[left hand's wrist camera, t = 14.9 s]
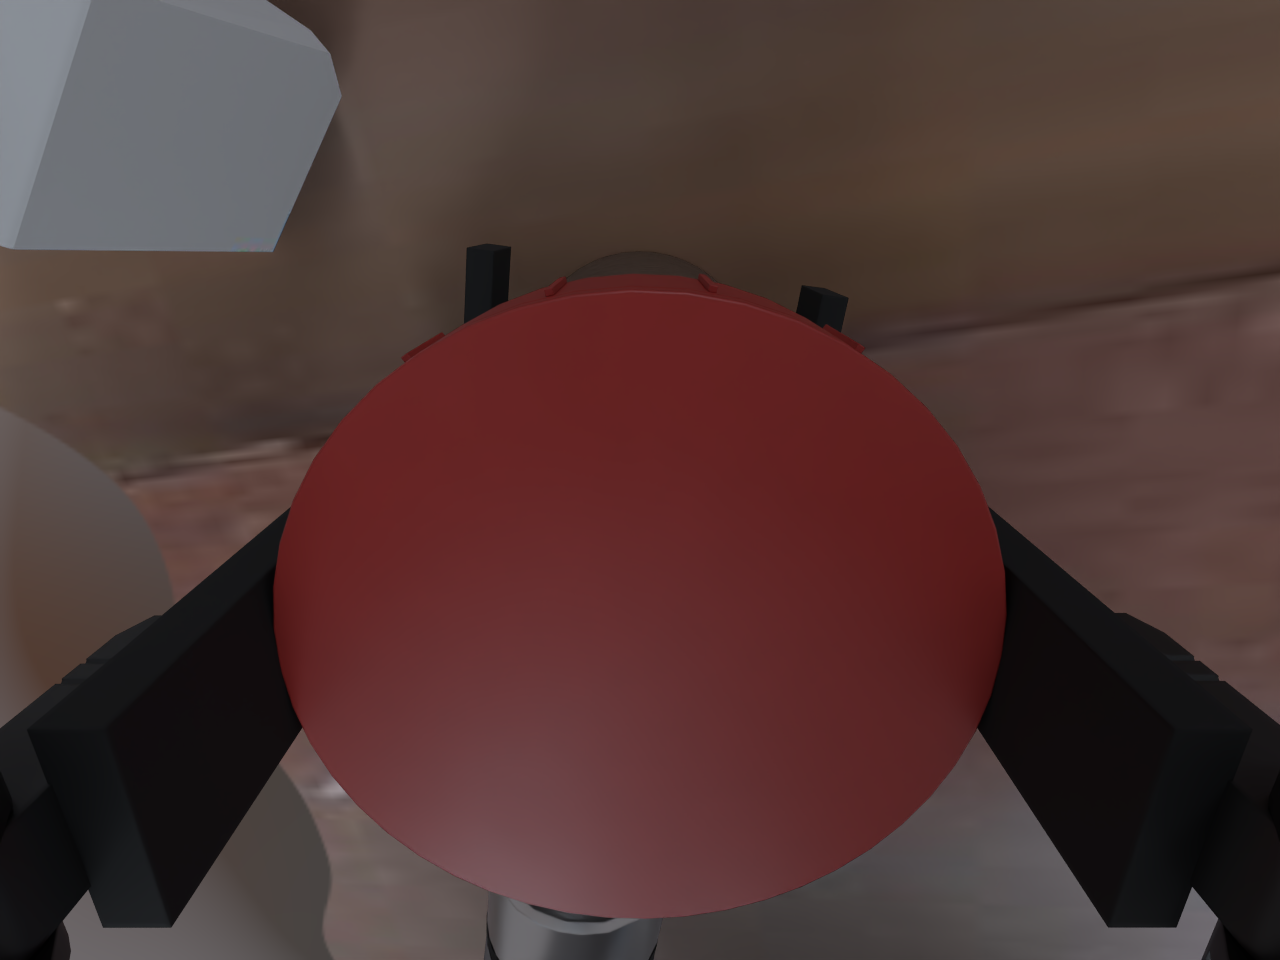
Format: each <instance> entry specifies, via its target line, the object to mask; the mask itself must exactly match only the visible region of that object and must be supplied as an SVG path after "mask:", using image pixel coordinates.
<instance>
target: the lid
mask: <svg viewBox="0 0 1280 960" xmlns="http://www.w3.org/2000/svg"><path fill="white" fill-rule="evenodd" d="M864 349H865V347H863V346H862V345H860V344H859V343H857V342H855V341H854V340H852V339H850V338H849V337H847V336H845V335H844V334H842V333H840V332H839V331H837V330H835V329H834V328H832V327H830V326H829V325H827V324H826V325H825V326H824V327H823V328H821V327H819V326H818V325H816V324H815V323H813V322H812V321H810V320H808V319H807V318H805V317H803V316H801V315H799V314H797V313H795V312H793V311H791V310H789V309H787V308H785V307H783V306H781V305H779V304H777V303H775V302H773V301H771V300H769V299H767V298H764V297H761V296H758V295H755V294H752V293H749V292H746V291H743V290H740V289H736V288H733V287H730V286H727V285H724V284H720V283H714V282H713V281H712V280H711V279H710V278H709V277H708V276H707V275H705V274H699V276H698V279H693V278H687V277H682V276H670V275H649V274H624V275H613V276H602V277H591V278H584V279H579V280H575V281H571V282H567V280H566V277H561V278H558V279H557V280H556V281H555V282H553V283H552V284H551V285H550V286H548V287H545V288H541V289H538V290H536V291H533V292H531V293H528V294H525V295H523V296H520V297H517V298H515V299H512V300H510V301H507V302H504V303H502V304H499V305H498V306H496V307H494V308H492V309H490V310H488V311H487V312H485V313H483V314H481V315H479V316H478V317H476V318H474V319H472V320H470V321H469V322H467V323H465V324H463V325H461V326H460V327H458V328H457V329H455V330H453V331H452V332H450V333H449V334H447V335H444V334H443V333H442V332H441V333H440V334H438V335H436V336H435V337H433V338H431V339H430V340H428V341H426V342H425V343H423V344H421V345H420V346H418V347H416V348H415V349H413V350H411V351H410V352H408V353H407V354H405V355H404V356H403V357H401V358H402V360H403V361H404V362H405V363H404V364H403V365H401V366H400V367H399V368H397V369H396V370H395V371H393V372H392V373H391V374H389V375H388V376H387V377H385V378H384V379H383V380H382V381H380V382H379V383H378V384H376V385H375V386H374V387H373V388H372V389H371V390H370V391H369V393H368V394H367V395H366V396H365V397H364V398H363V399H362V400H361V401H360V402H359V403H358V404H357V405H356V406H355V407H354V408H353V409H352V410H351V411H350V412H349V413H348V414H347V415H346V416H345V417H344V418H343V419H342V420H341V422H340V423H339V424H338V426H337V427H336V429H335V430H334V431H333V433H332V434H331V436H330V437H329V438H328V440H327V441H326V443H325V444H324V445H323V447H322V448H321V450H320V451H319V452H318V454H317V455H316V457H315V458H314V460H313V462H312V464H311V466H310V468H309V470H308V472H307V474H306V476H305V478H304V480H303V482H302V484H301V486H300V488H299V490H298V492H297V494H296V496H295V498H294V500H293V502H292V505H291V508H290V512H289V515H288V518H287V521H286V524H285V528H284V531H283V534H282V537H281V540H280V544H279V551H278V558H277V565H276V571H275V578H274V585H273V606H274V633H275V639H276V645H277V651H278V657H279V662H280V667H281V671H282V675H283V678H284V681H285V685H286V688H287V691H288V694H289V697H290V700H291V703H292V706H293V709H294V711H295V713H296V715H297V717H298V719H299V721H300V723H301V725H302V727H303V729H304V731H305V733H306V735H307V737H308V740H309V742H310V743H311V745H312V746H313V748H314V749H315V751H316V753H317V754H318V756H319V757H320V759H321V760H322V762H323V763H324V765H325V766H326V768H327V769H328V771H329V772H330V774H331V775H332V776H333V778H334V779H335V780H336V781H337V782H338V783H339V785H340V786H341V787H342V788H343V789H344V790H345V792H346V793H347V794H348V795H349V796H350V797H351V799H352V800H353V801H354V802H355V803H356V804H357V805H358V806H359V807H360V808H361V809H362V810H363V811H364V812H365V813H366V814H367V815H368V816H369V817H371V818H372V819H373V820H374V821H375V822H376V823H377V824H378V825H379V826H380V827H382V828H383V829H384V830H385V831H386V832H387V833H388V834H390V835H391V836H392V837H394V838H395V839H397V840H398V841H399V842H401V843H402V844H404V845H405V846H406V847H408V848H409V849H410V850H412V851H413V852H415V853H416V854H417V855H419V856H420V857H422V858H424V859H426V860H427V861H429V862H431V863H433V864H434V865H436V866H438V867H440V868H441V869H443V870H445V871H447V872H448V873H450V874H452V875H454V876H456V877H458V878H460V879H463V880H465V881H467V882H470V883H472V884H474V885H476V886H479V887H481V888H483V889H485V890H488V891H490V892H493V893H496V894H499V895H502V896H505V897H508V898H511V899H514V900H517V901H520V902H524V903H527V904H530V905H535V906H539V907H544V908H548V909H553V910H557V911H562V912H566V913H574V914H582V915H590V916H598V917H606V918H636V919H651V918H668V917H684V916H692V915H698V914H704V913H711V912H717V911H723V910H728V909H732V908H736V907H740V906H744V905H748V904H752V903H755V902H759V901H763V900H766V899H769V898H772V897H775V896H777V895H780V894H783V893H786V892H788V891H791V890H794V889H797V888H799V887H802V886H804V885H806V884H808V883H810V882H812V881H814V880H816V879H819V878H821V877H823V876H825V875H827V874H829V873H831V872H833V871H835V870H837V869H839V868H840V867H842V866H844V865H845V864H847V863H849V862H850V861H852V860H853V859H855V858H857V857H858V856H860V855H862V854H863V853H865V852H866V851H868V850H870V849H871V848H872V847H874V846H875V845H876V844H878V843H879V842H880V841H881V840H883V839H884V838H885V837H887V836H888V835H889V834H890V833H892V832H893V831H894V830H896V829H897V828H898V827H899V826H901V825H902V824H903V823H904V822H905V821H906V820H907V819H908V818H909V817H910V816H911V815H912V814H913V813H914V812H915V811H916V810H917V809H918V808H919V807H920V806H921V805H922V804H923V803H924V802H925V801H926V800H927V799H928V798H929V797H930V796H931V795H932V794H933V793H934V791H935V790H936V789H937V788H938V786H939V785H940V784H941V783H942V781H943V780H944V779H945V778H946V776H947V775H948V774H949V773H950V771H951V770H952V769H953V767H954V766H955V765H956V763H957V761H958V760H959V758H960V756H961V755H962V753H963V751H964V750H965V748H966V747H967V745H968V743H969V742H970V740H971V738H972V737H973V735H974V733H975V732H976V729H977V727H978V725H979V722H980V720H981V718H982V715H983V713H984V711H985V708H986V706H987V704H988V701H989V699H990V697H991V694H992V691H993V687H994V683H995V679H996V676H997V672H998V668H999V664H1000V660H1001V655H1002V650H1003V642H1004V633H1005V625H1006V616H1007V612H1006V587H1005V570H1004V565H1003V560H1002V555H1001V550H1000V545H999V540H998V535H997V530H996V527H995V524H994V522H993V519H992V516H991V514H990V511H989V508H988V505H987V503H986V500H985V497H984V495H983V492H982V489H981V487H980V485H979V483H978V481H977V480H976V478H975V476H974V474H973V473H972V471H971V469H970V467H969V466H968V464H967V462H966V460H965V458H964V457H963V455H962V453H961V451H960V450H959V448H958V446H957V445H956V444H955V442H954V441H953V440H952V439H951V437H950V436H949V435H948V434H947V432H946V431H945V430H944V428H943V427H942V426H941V425H940V423H939V422H938V421H937V420H936V418H935V417H934V416H933V415H932V413H931V412H930V411H929V410H928V408H927V407H926V406H925V405H923V404H922V403H921V402H920V401H919V400H918V399H917V398H916V397H915V396H914V395H913V394H912V393H911V392H909V391H908V390H907V389H906V388H905V387H904V386H903V385H902V384H901V383H900V382H899V381H898V380H897V379H896V378H894V377H893V376H892V375H891V374H890V373H889V372H887V371H886V370H884V369H883V368H881V367H880V366H878V365H877V364H876V363H874V362H873V361H871V360H870V359H868V358H867V357H865V356H864V355H862V354H861V353H862V352H863V350H864Z"/></svg>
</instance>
